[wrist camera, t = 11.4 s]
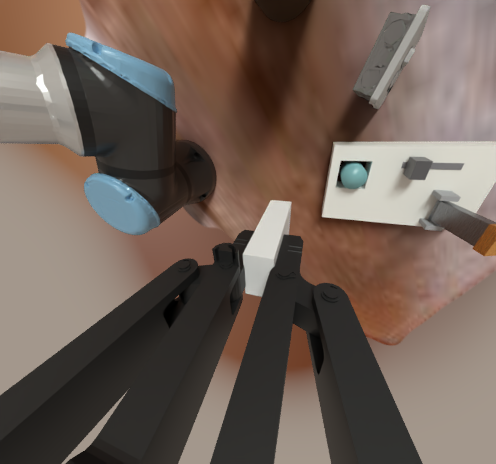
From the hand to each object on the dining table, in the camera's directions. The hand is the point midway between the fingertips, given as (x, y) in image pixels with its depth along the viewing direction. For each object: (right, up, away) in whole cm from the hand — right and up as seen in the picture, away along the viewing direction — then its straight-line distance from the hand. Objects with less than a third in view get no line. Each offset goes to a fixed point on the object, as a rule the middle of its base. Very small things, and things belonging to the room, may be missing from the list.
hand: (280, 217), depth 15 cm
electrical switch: (+18, +24, +16) cm, 34 cm away
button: (+18, +11, +23) cm, 31 cm away
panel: (+26, +9, +23) cm, 35 cm away
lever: (+30, +3, +19) cm, 35 cm away
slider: (+25, +10, +17) cm, 32 cm away
